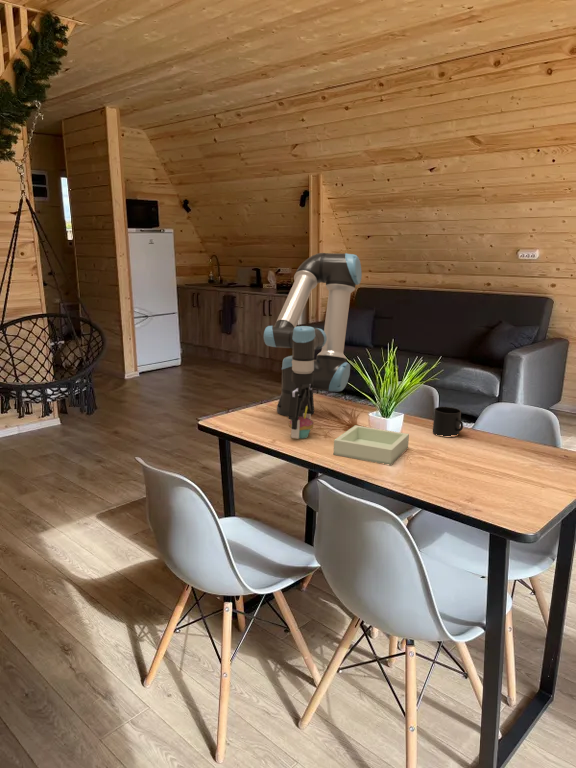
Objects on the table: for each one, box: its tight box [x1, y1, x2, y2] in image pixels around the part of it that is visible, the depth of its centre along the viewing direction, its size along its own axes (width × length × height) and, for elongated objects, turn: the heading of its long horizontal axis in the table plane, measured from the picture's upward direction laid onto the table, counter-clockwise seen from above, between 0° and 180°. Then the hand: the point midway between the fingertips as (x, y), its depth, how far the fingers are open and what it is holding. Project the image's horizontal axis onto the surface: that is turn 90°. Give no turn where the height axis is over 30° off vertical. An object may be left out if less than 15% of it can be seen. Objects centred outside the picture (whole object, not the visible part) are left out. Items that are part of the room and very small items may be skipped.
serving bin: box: [333, 424, 410, 466], centre depth 200 cm, size 19×19×5 cm
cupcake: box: [288, 404, 314, 439], centre depth 213 cm, size 9×8×12 cm
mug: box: [432, 406, 464, 436], centre depth 220 cm, size 9×12×9 cm
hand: (300, 434), depth 214 cm, fingers open, 8 cm apart
